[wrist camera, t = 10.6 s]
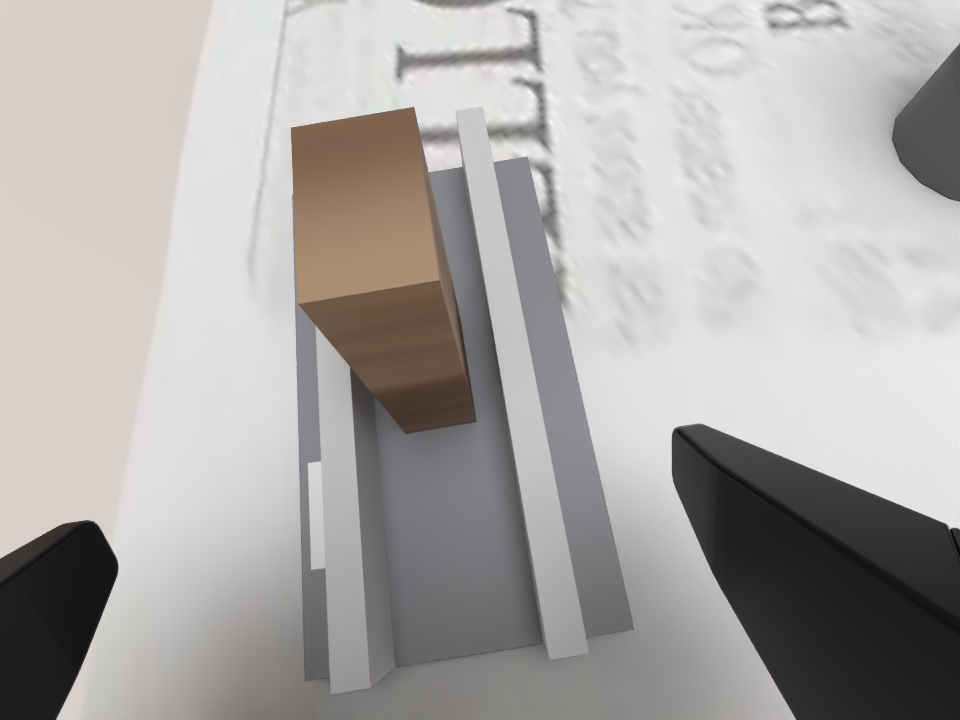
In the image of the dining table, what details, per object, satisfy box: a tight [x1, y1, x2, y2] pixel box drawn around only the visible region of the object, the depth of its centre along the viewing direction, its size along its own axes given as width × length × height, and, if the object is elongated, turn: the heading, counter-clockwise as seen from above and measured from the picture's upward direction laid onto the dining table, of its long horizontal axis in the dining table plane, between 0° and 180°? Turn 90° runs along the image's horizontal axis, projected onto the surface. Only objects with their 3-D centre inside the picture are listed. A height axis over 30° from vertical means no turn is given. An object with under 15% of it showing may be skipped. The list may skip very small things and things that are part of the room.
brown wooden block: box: [291, 107, 477, 434], centre depth 15 cm, size 5×2×10 cm, turn 9°
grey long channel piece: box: [292, 107, 634, 695], centre depth 19 cm, size 18×10×4 cm, turn 8°
